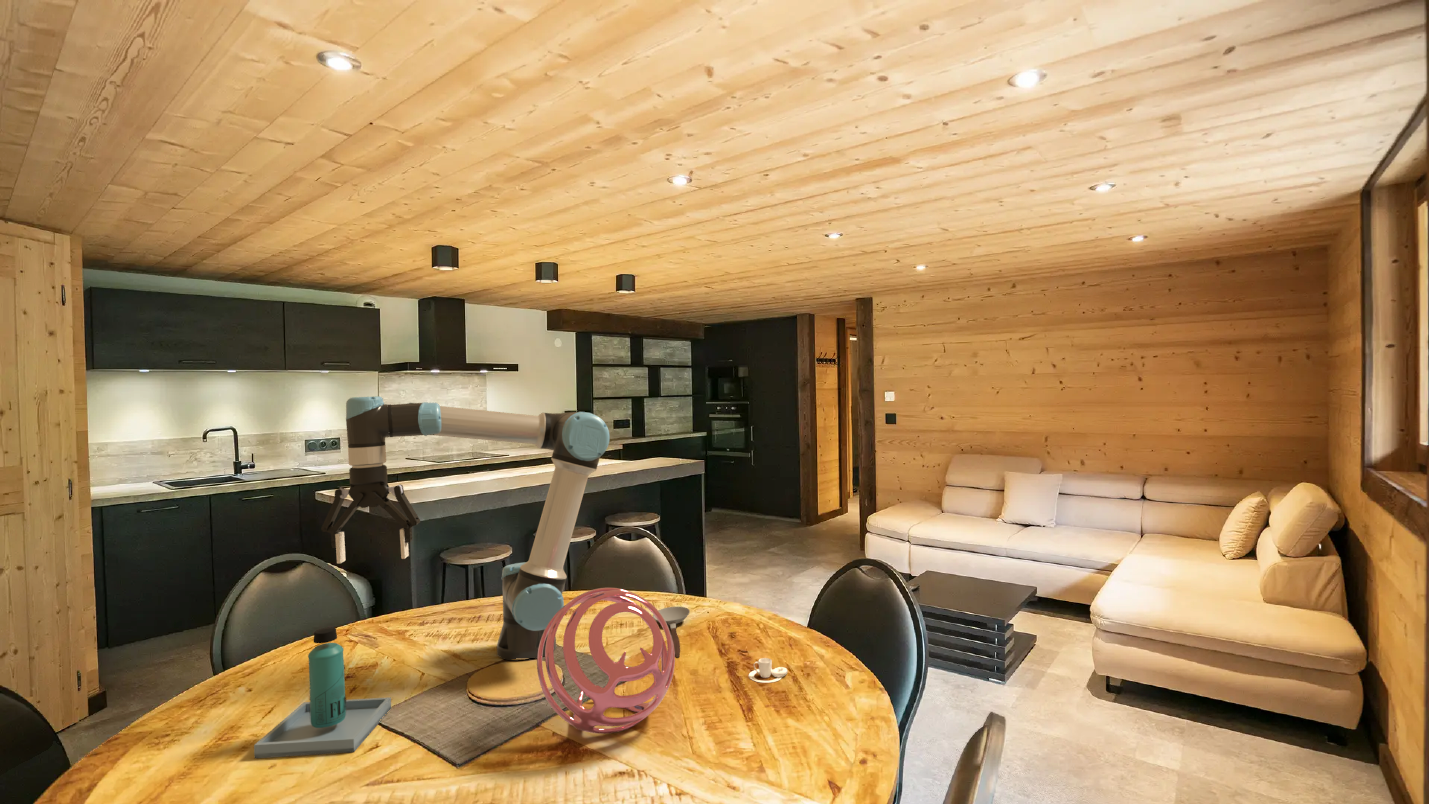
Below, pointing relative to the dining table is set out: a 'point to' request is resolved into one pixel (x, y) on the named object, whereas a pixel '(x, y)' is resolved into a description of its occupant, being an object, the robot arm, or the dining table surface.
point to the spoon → (674, 622)
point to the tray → (323, 731)
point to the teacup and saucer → (767, 671)
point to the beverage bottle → (326, 680)
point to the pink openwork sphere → (606, 664)
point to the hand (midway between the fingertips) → (373, 559)
